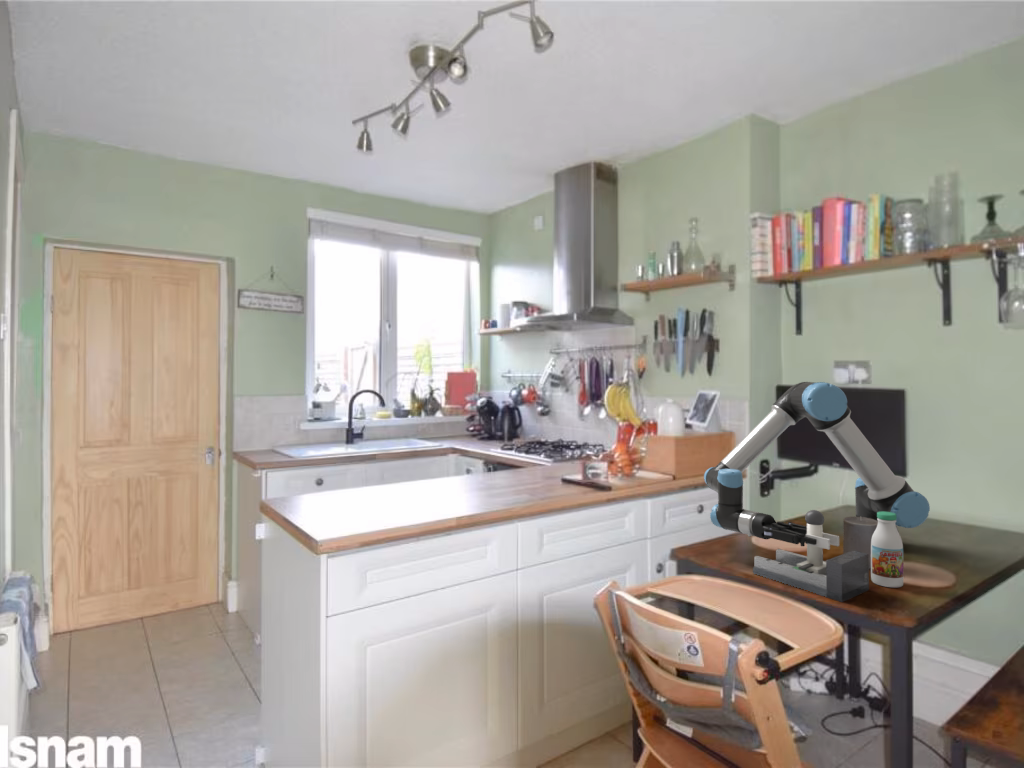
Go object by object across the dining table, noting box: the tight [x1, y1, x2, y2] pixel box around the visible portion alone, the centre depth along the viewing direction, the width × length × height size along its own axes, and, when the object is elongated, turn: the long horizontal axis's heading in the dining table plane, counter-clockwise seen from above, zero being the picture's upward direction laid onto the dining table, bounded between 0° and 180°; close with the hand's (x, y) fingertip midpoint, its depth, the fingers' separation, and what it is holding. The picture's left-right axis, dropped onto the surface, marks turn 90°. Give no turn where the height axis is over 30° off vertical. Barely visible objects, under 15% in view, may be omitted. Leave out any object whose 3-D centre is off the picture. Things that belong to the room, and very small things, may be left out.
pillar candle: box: [842, 516, 878, 570], centre depth 179 cm, size 10×10×15 cm
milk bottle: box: [870, 511, 904, 589], centre depth 163 cm, size 8×8×20 cm
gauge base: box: [752, 548, 870, 603], centre depth 166 cm, size 26×14×10 cm, turn 33°
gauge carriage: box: [797, 509, 826, 575], centre depth 163 cm, size 6×11×19 cm, turn 123°
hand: (833, 542), depth 159 cm, fingers closed on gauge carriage, 4 cm apart
